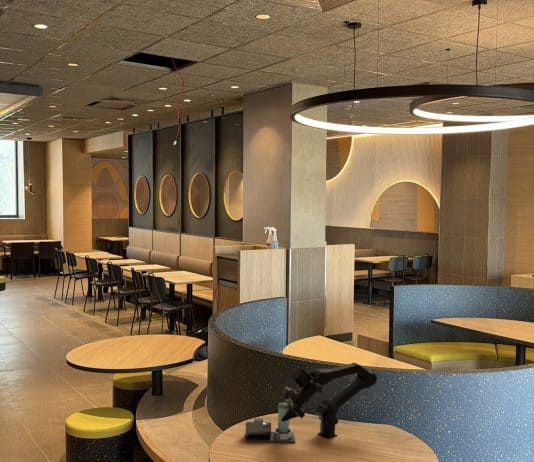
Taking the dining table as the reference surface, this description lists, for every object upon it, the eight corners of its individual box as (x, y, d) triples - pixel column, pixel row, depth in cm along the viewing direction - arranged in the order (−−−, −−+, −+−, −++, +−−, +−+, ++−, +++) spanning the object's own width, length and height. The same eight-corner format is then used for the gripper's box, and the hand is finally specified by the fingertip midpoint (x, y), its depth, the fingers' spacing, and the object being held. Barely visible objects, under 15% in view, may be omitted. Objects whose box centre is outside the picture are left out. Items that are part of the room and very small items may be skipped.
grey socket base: (292, 434, 267) (293, 415, 267) (295, 443, 257) (295, 423, 257) (245, 433, 266) (246, 414, 266) (245, 442, 256) (246, 423, 256)
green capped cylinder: (291, 432, 263) (292, 404, 262) (284, 436, 259) (285, 407, 258) (281, 430, 266) (282, 401, 265) (275, 433, 261) (276, 404, 261)
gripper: (289, 374, 271) (264, 399, 269) (298, 387, 252) (272, 414, 251) (305, 391, 272) (281, 415, 271) (315, 405, 254) (289, 431, 253)
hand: (280, 418), depth 261 cm, fingers closed on green capped cylinder, 5 cm apart
